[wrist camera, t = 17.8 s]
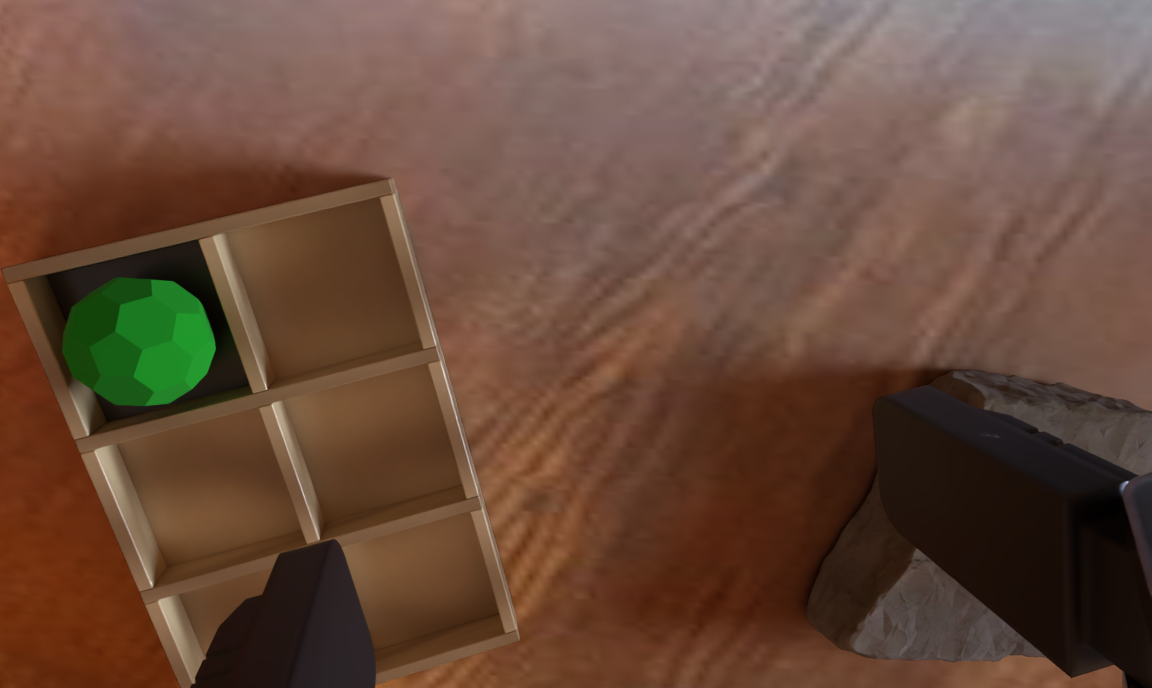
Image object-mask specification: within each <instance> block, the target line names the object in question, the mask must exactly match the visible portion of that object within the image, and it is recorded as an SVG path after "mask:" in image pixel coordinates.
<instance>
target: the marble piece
mask: <svg viewBox="0 0 1152 688" xmlns="http://www.w3.org/2000/svg"><path fill="white" fill-rule="evenodd" d="M929 386H932V387H934V388H936V389H938V390H940V391H943V392H945V393H947V394H949V395H951V396H953V397H955V398H957V399H959V400H961V401H963V402H965V403H967V404H969V405H972V406H974V407H976V408H980V409H985V410H989V411H994V412H999V413H1003V414H1008V415H1010V416H1013V417H1015V418H1017V419H1019V420H1021V421H1023V422H1025V423H1028V424H1030V425H1032V426H1034V427H1036V428H1038V430H1039V432H1043V431H1045V432H1047V433H1049V434H1051V435H1053V436H1055V437H1058V438H1060V439H1062V440H1063V443H1064V444H1066V443H1070V444H1072V445H1075V446H1077V447H1079V448H1081V449H1083V450H1085V451H1087V452H1090V453H1092V454H1094V455H1096V456H1098V457H1100V458H1102V459H1105V460H1107V461H1109V462H1111V463H1113V464H1115V465H1117V466H1120V467H1122V468H1124V469H1126V470H1128V471H1130V472H1132V473H1134V474H1137V475H1139V476H1140V475H1143V474H1146V473H1150V472H1152V411H1148V410H1144V409H1142V408H1140V407H1138V406H1136V405H1135V404H1133V403H1131V402H1129V401H1127V400H1123V399H1116V398H1110V397H1105V396H1102V395H1099V394H1093V393H1090V392H1087V391H1083V390H1080V389H1077V388H1074V387H1071V386H1069V385H1067V384H1065V383H1056V384H1051V385H1041V384H1038V383H1034V382H1032V381H1030V380H1028V379H1024V378H1020V377H1017V376H1015V375H1011V376H1004V375H999V374H993V373H986V372H984V371H980V370H977V371H971V370H956V371H949V372H948V373H947V374H945V375H944V376H941V377H937V378H936V379H935V380H934V381H932V382H931V383H930V384H929ZM806 615H807V619H808V621H809V622H810V624H811V626H813V627H814V628H815V629H816V630H818V631H819V632H820V633H822V634H823V635H824V636H825V637H826V638H828V639H829V640H830V641H831V642H833V643H834V644H835V645H836V646H837V647H838V648H840V649H842V650H846V651H850V652H853V653H856V654H858V655H861V656H864V657H867V658H874V659H890V660H892V659H903V660H924V659H926V660H944V661H949V662H956V661H969V660H970V661H980V660H983V661H992V662H993V661H1000V660H1001V659H1002V658H1003V657H1006V656H1008V655H1023V656H1026V657H1046V656H1045V655H1043V654H1042V653H1041V652H1040V651H1039V650H1037V649H1036V648H1035V647H1034V646H1033V645H1032V644H1030V643H1029V642H1028V641H1027V640H1026V639H1024V638H1023V637H1022V636H1021V635H1020V634H1018V633H1017V632H1016V631H1015V630H1014V629H1012V628H1011V627H1010V626H1009V625H1008V624H1007V623H1005V622H1004V621H1003V620H1002V619H1001V618H999V617H998V616H997V615H996V614H995V613H993V612H992V611H991V610H990V609H989V608H987V607H986V606H985V605H984V604H983V603H982V602H980V601H979V600H978V599H977V598H976V597H974V596H973V595H972V594H971V593H970V592H968V591H967V590H966V589H965V588H964V587H962V586H961V585H960V584H959V583H958V582H957V581H955V580H954V579H953V578H952V577H951V576H949V575H948V574H947V573H946V572H945V571H943V570H942V569H941V568H940V567H939V566H937V565H936V564H935V563H934V562H933V561H932V560H930V559H929V558H928V557H927V556H926V555H924V554H923V553H922V552H921V551H920V550H918V549H917V548H916V547H915V546H914V545H912V544H911V543H910V542H909V541H908V540H907V539H905V538H904V537H903V536H902V535H901V534H900V533H899V532H898V531H897V530H896V529H895V528H894V526H893V525H892V524H891V522H890V520H889V518H888V516H887V514H886V512H885V510H884V507H883V504H882V501H881V496H880V489H879V479H878V472H877V474H876V477H875V480H874V483H873V487H872V490H871V492H870V493H869V494H868V495H867V497H866V499H865V501H864V503H863V504H862V506H861V507H860V509H859V510H858V511H857V513H856V514H855V516H854V517H853V518H852V519H851V520H850V521H849V523H848V524H847V526H846V527H845V529H844V530H843V532H842V533H841V535H840V538H839V539H838V540H837V542H836V545H835V547H834V548H833V549H832V551H831V552H830V553H829V554H828V556H827V557H826V558H825V559H824V561H823V563H822V566H821V569H820V572H819V575H818V577H817V579H816V581H815V584H814V586H813V589H812V592H811V595H810V597H809V602H808V607H807V612H806Z"/></svg>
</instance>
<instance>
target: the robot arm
mask: <svg viewBox="0 0 1152 688" xmlns="http://www.w3.org/2000/svg"><path fill="white" fill-rule="evenodd" d="M872 416H873V428H874V438H875V448H876V459H877V469H878V479H879V489H880V496H881V501H882V504H883V507H884V510H885V512H886V514H887V516H888V518H889V520H890V522H891V524H892V525H893V526H894V528H895V529H896V530H897V531H898V532H899V533H900V534H901V535H902V536H903V537H904V538H905V539H907V540H908V541H909V542H910V543H911V544H912V545H914V546H915V547H916V548H917V549H918V550H920V551H921V552H922V553H923V554H924V555H926V556H927V557H928V558H929V559H930V560H932V561H933V562H934V563H935V564H936V565H937V566H939V567H940V568H941V569H942V570H943V571H945V572H946V573H947V574H948V575H949V576H951V577H952V578H953V579H954V580H955V581H957V582H958V583H959V584H960V585H961V586H962V587H964V588H965V589H966V590H967V591H968V592H970V593H971V594H972V595H973V596H974V597H976V598H977V599H978V600H979V601H980V602H982V603H983V604H984V605H985V606H986V607H987V608H989V609H990V610H991V611H992V612H993V613H995V614H996V615H997V616H998V617H999V618H1001V619H1002V620H1003V621H1004V622H1005V623H1007V624H1008V625H1009V626H1010V627H1011V628H1012V629H1014V630H1015V631H1016V632H1017V633H1018V634H1020V635H1021V636H1022V637H1023V638H1024V639H1026V640H1027V641H1028V642H1029V643H1030V644H1032V645H1033V646H1034V647H1035V648H1036V649H1037V650H1039V651H1040V652H1041V653H1042V654H1043V655H1045V656H1046V657H1047V658H1048V659H1049V660H1051V661H1052V662H1053V663H1054V664H1055V665H1057V666H1058V667H1059V668H1060V669H1061V670H1062V671H1064V672H1065V673H1066V674H1067V675H1068V676H1070V677H1071V678H1073V677H1076V676H1079V675H1082V674H1086V673H1089V672H1092V671H1095V670H1098V669H1101V668H1105V667H1108V666H1111V665H1116V666H1117V667H1118V668H1120V669H1121V670H1122V688H1152V472H1150V473H1146V474H1143V475H1140V476H1139V475H1137V474H1134V473H1132V472H1130V471H1128V470H1126V469H1124V468H1122V467H1120V466H1117V465H1115V464H1113V463H1111V462H1109V461H1107V460H1105V459H1102V458H1100V457H1098V456H1096V455H1094V454H1092V453H1090V452H1087V451H1085V450H1083V449H1081V448H1079V447H1077V446H1075V445H1072V444H1070V443H1066V444H1064V443H1063V440H1062V439H1060V438H1058V437H1055V436H1053V435H1051V434H1049V433H1047V432H1045V431H1043V432H1039V430H1038V428H1036V427H1034V426H1032V425H1030V424H1028V423H1025V422H1023V421H1021V420H1019V419H1017V418H1015V417H1013V416H1010V415H1008V414H1003V413H999V412H994V411H989V410H985V409H980V408H976V407H974V406H972V405H969V404H967V403H965V402H963V401H961V400H959V399H957V398H955V397H953V396H951V395H949V394H947V393H945V392H943V391H940V390H938V389H936V388H934V387H932V386H929V385H925V386H921V387H917V388H913V389H909V390H905V391H902V392H898V393H894V394H890V395H886V396H882V397H879V398H878V399H877V400H876V401H875V403H874V405H873V412H872ZM375 684H376V663H375V654H374V648H373V643H372V639H371V635H370V632H369V628H368V625H367V622H366V619H365V616H364V613H363V610H362V607H361V604H360V601H359V597H358V594H357V591H356V588H355V585H354V582H353V579H352V576H351V573H350V570H349V567H348V564H347V560H346V557H345V555H344V552H343V550H342V547H341V545H340V544H339V542H338V541H337V540H336V539H332V540H328V541H324V542H320V543H316V544H313V545H309V546H305V547H301V548H297V549H294V550H290V551H286V552H282V553H280V554H279V555H278V557H277V559H276V562H275V564H274V566H273V569H272V571H271V574H270V576H269V579H268V581H267V584H266V586H265V589H264V591H263V594H262V595H259V596H255V597H251V598H247V599H245V600H244V601H243V602H242V603H241V604H240V605H239V606H238V607H237V608H236V609H235V610H234V611H233V612H232V613H231V615H230V616H229V617H228V618H227V619H226V620H225V621H224V622H223V623H222V624H221V625H220V626H219V627H218V629H217V631H216V633H215V636H214V638H213V640H212V642H211V644H210V646H209V648H208V650H207V653H206V659H205V660H203V661H202V663H201V665H200V667H199V670H198V672H197V674H196V676H195V683H194V684H191V687H190V688H375Z"/></svg>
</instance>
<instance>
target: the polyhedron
mask: <svg viewBox="0 0 1152 688" xmlns="http://www.w3.org/2000/svg"><path fill="white" fill-rule="evenodd" d="M215 350H216V346H215V339H214V332H213V330H212V327H211V324H210V321H209V318H208V316H207V313H206V310H205V308H204V307H203V305H202V304H201V302H200V301H199V300H198V298H196V297H195V296H193V295H192V294H191V293H189V292H188V291H186V290H185V289H184V288H182V287H181V286H179V285H178V284H177V283H175V282H174V281H164V280H152V279H136V278H114V279H112V280H110V281H109V282H107V283H106V284H104V285H102V286H101V287H99V288H97V289H96V290H94V291H93V292H91V293H90V294H88V295H87V296H86V297H84V298H83V299H82V300H80V301H79V302H78V303H77V304H75V305H74V306H73V307H72V308H71V311H70V314H69V317H68V320H67V324H66V327H65V330H64V333H63V346H62V352H63V355H64V357H65V359H66V362H67V364H68V367H69V369H70V371H71V374H72V376H73V378H75V379H76V380H78V381H79V382H81V383H82V384H84V385H85V386H87V387H88V388H90V389H92V390H93V391H95V392H96V393H98V394H99V395H101V396H102V397H104V398H105V399H107V400H108V401H110V402H111V403H113V404H115V405H132V406H150V405H160V404H169V403H171V402H172V401H174V400H175V399H177V398H179V397H180V396H182V395H184V394H185V393H187V392H188V391H190V390H192V389H193V388H194V387H195V386H196V385H197V384H198V382H199V381H200V380H201V379H202V378H203V377H204V376H205V375H206V374H207V373H208V370H209V367H210V364H211V361H212V358H213V356H214V353H215Z"/></svg>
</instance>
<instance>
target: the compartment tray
mask: <svg viewBox="0 0 1152 688" xmlns="http://www.w3.org/2000/svg"><path fill="white" fill-rule="evenodd" d="M1 271H2V273H3V276H4V278H5V280H6V282H7V283H9V284H8V287H9V290H10V292H11V294H12V297H13V299H14V301H15V304H16V306H17V308H18V311H19V313H20V315H21V318H22V320H23V322H24V325H25V327H26V329H27V332H28V334H29V336H30V339H31V341H32V343H33V346H34V348H35V350H36V353H37V355H38V357H39V360H40V362H41V364H42V367H43V369H44V371H45V374H46V376H47V378H48V381H49V383H50V385H51V388H52V390H53V392H54V395H55V397H56V399H57V402H58V404H59V406H60V409H61V411H62V413H63V416H64V418H65V420H66V423H67V425H68V427H69V430H70V432H71V434H72V437H73V439H76V440H75V444H76V446H77V448H78V451H79V452H80V453H81V458H82V460H83V462H84V465H85V467H86V469H87V472H88V474H89V476H90V479H91V481H92V483H93V486H94V488H95V490H96V493H97V495H98V497H99V499H100V502H101V504H102V506H103V509H104V511H105V513H106V516H107V518H108V520H109V523H110V525H111V527H112V530H113V532H114V534H115V537H116V539H117V541H118V544H119V546H120V548H121V551H122V553H123V555H124V558H125V560H126V562H127V565H128V567H129V569H130V572H131V574H132V576H133V579H134V581H135V583H136V586H137V588H138V590H139V591H140V595H141V598H142V600H143V602H144V604H145V607H146V609H147V611H148V614H149V616H150V618H151V621H152V623H153V625H154V628H155V630H156V632H157V635H158V637H159V639H160V642H161V644H162V646H163V649H164V651H165V653H166V656H167V658H168V660H169V663H170V665H171V667H172V670H173V672H174V674H175V677H176V679H177V681H178V684H179V686H180V688H190V687H191V684H194V683H195V676H196V674H197V672H198V670H199V667H200V665H201V663H202V661H203V660H205V659H206V653H207V650H208V648H209V646H210V644H211V642H212V640H213V638H214V636H215V633H216V631H217V629H218V627H219V626H220V625H221V624H222V623H223V622H224V621H225V620H226V619H227V618H228V617H229V616H230V615H231V613H232V612H233V611H234V610H235V609H236V608H237V607H238V606H239V605H240V604H241V603H242V602H243V601H244V600H245V599H247V598H251V597H255V596H259V595H262V594H263V591H264V589H265V586H266V584H267V581H268V579H269V576H270V574H271V571H272V569H273V566H274V564H275V562H276V559H277V557H278V555H279V554H280V553H282V552H286V551H290V550H294V549H297V548H301V547H305V546H309V545H313V544H316V543H320V542H324V541H328V540H332V539H336V540H337V541H338V542H339V544H340V545H341V547H342V550H343V552H344V555H345V557H346V560H347V564H348V567H349V570H350V573H351V576H352V579H353V582H354V585H355V588H356V591H357V594H358V597H359V601H360V604H361V607H362V610H363V613H364V616H365V619H366V622H367V625H368V628H369V632H370V635H371V639H372V643H373V648H374V654H375V663H376V684H375V685H377V684H380V683H384V682H387V681H390V680H393V679H397V678H400V677H403V676H406V675H410V674H413V673H416V672H419V671H423V670H426V669H429V668H432V667H436V666H439V665H442V664H445V663H449V662H452V661H455V660H458V659H462V658H465V657H468V656H471V655H475V654H478V653H481V652H484V651H488V650H491V649H494V648H497V647H501V646H504V645H507V644H510V643H514V642H517V641H519V640H520V637H519V631H518V625H517V619H516V613H515V609H514V606H513V602H512V598H511V595H510V591H509V588H508V584H507V581H506V577H505V574H504V570H503V566H502V563H501V559H500V556H499V552H498V549H497V545H496V542H495V538H494V534H493V531H492V527H491V524H490V520H489V517H488V513H487V510H486V506H485V502H484V499H483V495H482V492H481V488H480V485H479V481H478V478H477V474H476V470H475V467H474V463H473V460H472V456H471V453H470V449H469V446H468V442H467V438H466V435H465V431H464V428H463V424H462V421H461V417H460V414H459V410H458V407H457V403H456V399H455V396H454V392H453V389H452V385H451V382H450V378H449V375H448V371H447V367H446V364H445V360H444V357H443V353H442V350H441V346H440V343H439V339H438V335H437V332H436V328H435V325H434V321H433V318H432V314H431V311H430V307H429V303H428V300H427V296H426V293H425V289H424V286H423V282H422V279H421V275H420V271H419V268H418V264H417V261H416V257H415V254H414V250H413V247H412V243H411V239H410V236H409V232H408V229H407V225H406V222H405V218H404V215H403V211H402V207H401V204H400V200H399V197H398V193H397V190H396V186H395V183H394V179H393V178H388V179H384V180H379V181H375V182H371V183H366V184H362V185H358V186H353V187H349V188H345V189H340V190H336V191H332V192H327V193H323V194H319V195H315V196H310V197H306V198H302V199H297V200H293V201H289V202H284V203H280V204H276V205H271V206H267V207H263V208H258V209H254V210H250V211H246V212H241V213H237V214H233V215H228V216H224V217H220V218H215V219H211V220H207V221H202V222H198V223H194V224H189V225H185V226H181V227H177V228H172V229H168V230H164V231H159V232H155V233H151V234H146V235H142V236H138V237H133V238H129V239H125V240H120V241H116V242H112V243H108V244H103V245H99V246H95V247H90V248H86V249H82V250H77V251H73V252H69V253H64V254H60V255H56V256H52V257H47V258H43V259H39V260H34V261H30V262H26V263H21V264H17V265H13V266H8V267H4V268H2V269H1ZM114 278H136V279H152V280H164V281H174V282H175V283H177V284H178V285H179V286H181V287H182V288H184V289H185V290H186V291H188V292H189V293H191V294H192V295H193V296H195V297H196V298H198V300H199V301H200V302H201V304H202V305H203V307H204V308H205V310H206V313H207V316H208V318H209V321H210V324H211V327H212V330H213V332H214V339H215V346H216V350H215V353H214V356H213V358H212V361H211V364H210V367H209V370H208V373H207V374H206V375H205V376H204V377H203V378H202V379H201V380H200V381H199V382H198V384H197V385H196V386H195V387H194V388H193V389H192V390H190V391H188V392H187V393H185V394H184V395H182V396H180V397H179V398H177V399H175V400H174V401H172V402H171V403H169V404H160V405H150V406H132V405H115V404H113V403H111V402H110V401H108V400H107V399H105V398H104V397H102V396H101V395H99V394H98V393H96V392H95V391H93V390H92V389H90V388H88V387H87V386H85V385H84V384H82V383H81V382H79V381H78V380H76V379H75V378H73V376H72V374H71V371H70V369H69V367H68V364H67V362H66V359H65V357H64V355H63V352H62V346H63V333H64V330H65V327H66V324H67V320H68V317H69V314H70V311H71V308H72V307H73V306H74V305H75V304H77V303H78V302H79V301H80V300H82V299H83V298H84V297H86V296H87V295H88V294H90V293H91V292H93V291H94V290H96V289H97V288H99V287H101V286H102V285H104V284H106V283H107V282H109V281H110V280H112V279H114Z"/></svg>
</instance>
